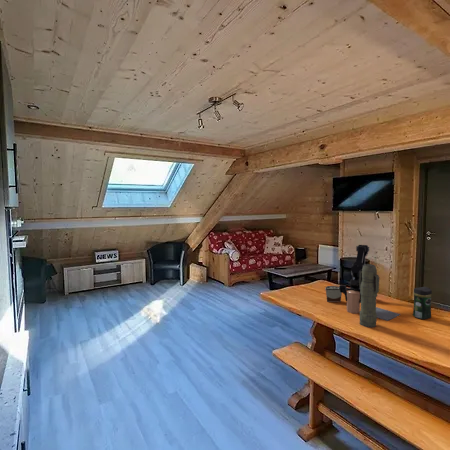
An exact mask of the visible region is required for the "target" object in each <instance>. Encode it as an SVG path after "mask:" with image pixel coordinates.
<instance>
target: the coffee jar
mask: <svg viewBox="0 0 450 450" xmlns="http://www.w3.org/2000/svg"><path fill="white" fill-rule="evenodd" d="M432 295H433V292H432V289H431V288H430V287H428V286H422V287H415V288H413V296H414V299H413V300H414V301H413V309H412V316H413V317H415V318H416V319H419V320H428V319H431V318H432V307H431V306H432Z"/></svg>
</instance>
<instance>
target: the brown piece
mask: <svg viewBox="0 0 450 450" xmlns="http://www.w3.org/2000/svg"><path fill="white" fill-rule="evenodd" d="M359 302H360V292H359V291H356V290H348V291H347V301H346V311H347V312H348V313H350V314H360V310H361V303H359Z"/></svg>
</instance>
